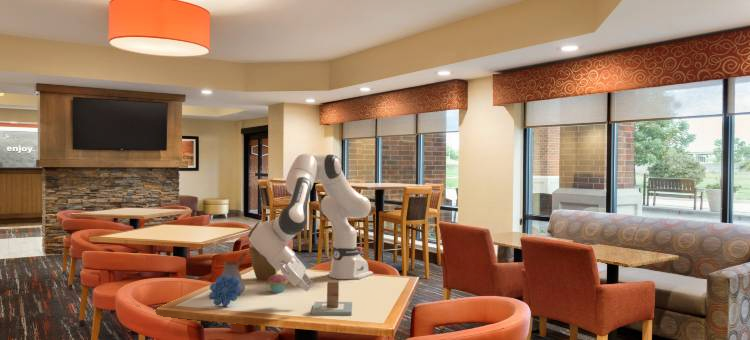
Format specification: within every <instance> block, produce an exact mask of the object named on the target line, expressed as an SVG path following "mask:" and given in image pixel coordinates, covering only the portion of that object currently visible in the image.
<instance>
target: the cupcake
mask: <svg viewBox="0 0 750 340" xmlns="http://www.w3.org/2000/svg"><path fill="white" fill-rule="evenodd" d="M275 272H276V274H275V275H272V276H270V277H269V278H268V281H266V282H267V284H268V285H269V287H270V290H271V292H272V293H274V294H275V293H277V294H281V293H283V292H284V291H285V287H286V285H287V284H288V283H289V281H288V279H287V278H286V277H285V276H284V275H283V274H279V273H278V271H277V270H276V269H275Z"/></svg>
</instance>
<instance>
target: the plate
mask: <svg viewBox="0 0 750 340" xmlns="http://www.w3.org/2000/svg"><path fill="white" fill-rule="evenodd" d="M352 308H353V302H352V301H338V308H327V301H315V302H314V303H313V307H312V309H311V316H352V311H353V309H352Z"/></svg>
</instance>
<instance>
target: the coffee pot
mask: <svg viewBox="0 0 750 340" xmlns="http://www.w3.org/2000/svg"><path fill="white" fill-rule="evenodd" d="M249 255H250V253H247V251H245V252H243V254H242V256H240V258H239V259H238V261H224V262H222V265H223V268H224V269H223V271H222V273H221V275H220V276H223V277H225V276H226V275H227V274H231V275H232V276H233V278H234V277H238V278H239V283H238V284H237V285H240V286H241V291H240V292H238V293H237V295H238V296H240V295H241V294H242V293H244V291H245V289H246V285H245V282H244V281H243V280H244V279H243V278H242V275H241V273H240V270H239V265H240V263H241V262H242V261H243V260H244V258H245V257H246V256H247V257H249ZM233 278H232V279H233Z"/></svg>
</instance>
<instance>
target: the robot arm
mask: <svg viewBox="0 0 750 340" xmlns="http://www.w3.org/2000/svg"><path fill="white" fill-rule="evenodd" d="M315 182H320V183H321V185H322V187H323V190H324V192H325V193H326V194H327V195H325V196H324V197H323V198H322V199H321V202H320V209H321V212H322V213H323V215H324V216H325V217H326V218H327V219H328V221H329V222H330V225H331V228H332V235H333V237H332V238H333V240H332V241H333V246H332V252H331V253H332V258H331V264H330V271H329V273H328V274H329V277H330V278H332V279H339V280H362V279H363V278H366V277H368V276H372V275H373V274H374V272H373V271H371V270H369V264H368V261H367V260H366V259H364V257H362V256H361V255H360V252H362V251H363V247H362V246H357V237H358V235H357V233H358V232H357V230H356V228H355V227H353V226H352V225H351V224H350V223H349V220H348V219H355V220H357V219H364V218H367V217H368V215H369V214H370V213H371V210H372V204H371V202H370V199H369V198H368V197H366V196H364V195H363V194H360V193H359V192H358V191H357V190H355V188H353V187H352V186H351V185H350V183H349V182H348V180H347V178H346V176H345V174H344V171H343V169H342V162H341V159H340V158H339V157H338V156H337V155H334V154H318V155H311V154H308V153H302V154H301V153H300V154H298V155H297V157H296V158H295V159H294V161H293V162H292V164H291V166H290V169H289V170H288V173H287V175H286V179H285V183H284V184H285V185H284V186H285V190H286V191H287V192H288V193H289V194H290V195H291V197H290V200H289V204H288V205H286V206H285V208H284V209H282V211H281V213H279V215H277V217H276V218H275V219H272V220H268V221H258V222H257V223H256V224H255V225H254V226H253V228H251V230H250V231H249V233H248V235H247V238H248V240H249V242H250V245H251V244H252V245H253V246H254V248H255V249H256V250H257V251H258V252H259V253H260V254H261V255H263V256H264V257H265V258H266V259H267V261H268V262H269V263H270V264H271V265H272V266H273V267H274V268H275V269H276V270H277V272H279V271H280V272H281V273H282V274H281V275H284V276H285V277H286V278H287V279H288V283H290V284H291V285H293V286H297V285H298V286H299V287H301V288H302V289H304V291H305V292H309V290H310V289H311V285H312V284H313V280H311V279H310V277H309V276H308V274H307V273H306V271H307V268H306V266H305V265H304V264H303V262H302V261H301V260H300V259H299V258H298V257H297V256H296V253H295V251H294V250H293V249H291V248H290V247H289V246H288V245H287V243H289V242H290V241H291V240H292V239H294V238H295V237H296V236H297V235H298V234H299V233H301V232H302V231H303V230H304V229H305V228H306V226H307V224H308V217H307V216H308V215H307V207H308V206H307V205H308V203H309V199H310V194H311V191H312V189H313V186H314V183H315Z"/></svg>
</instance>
